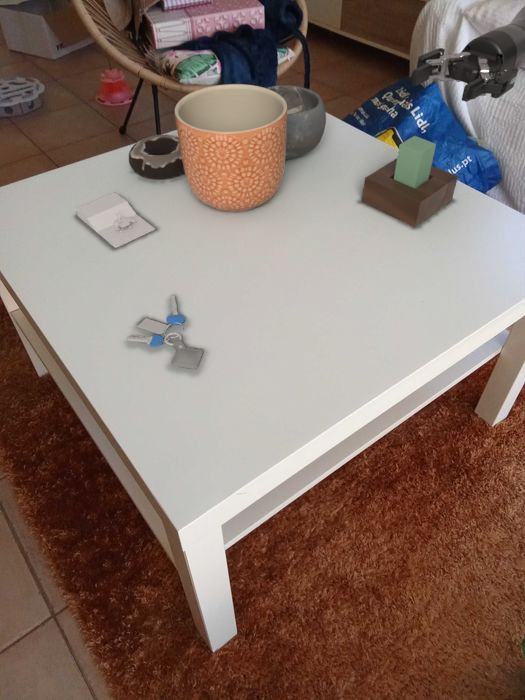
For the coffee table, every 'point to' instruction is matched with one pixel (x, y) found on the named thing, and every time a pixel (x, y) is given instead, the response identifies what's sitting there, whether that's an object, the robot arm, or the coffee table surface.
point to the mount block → (408, 194)
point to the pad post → (414, 161)
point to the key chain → (184, 354)
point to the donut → (157, 157)
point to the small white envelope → (114, 219)
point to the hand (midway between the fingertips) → (439, 86)
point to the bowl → (302, 119)
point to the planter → (233, 144)
